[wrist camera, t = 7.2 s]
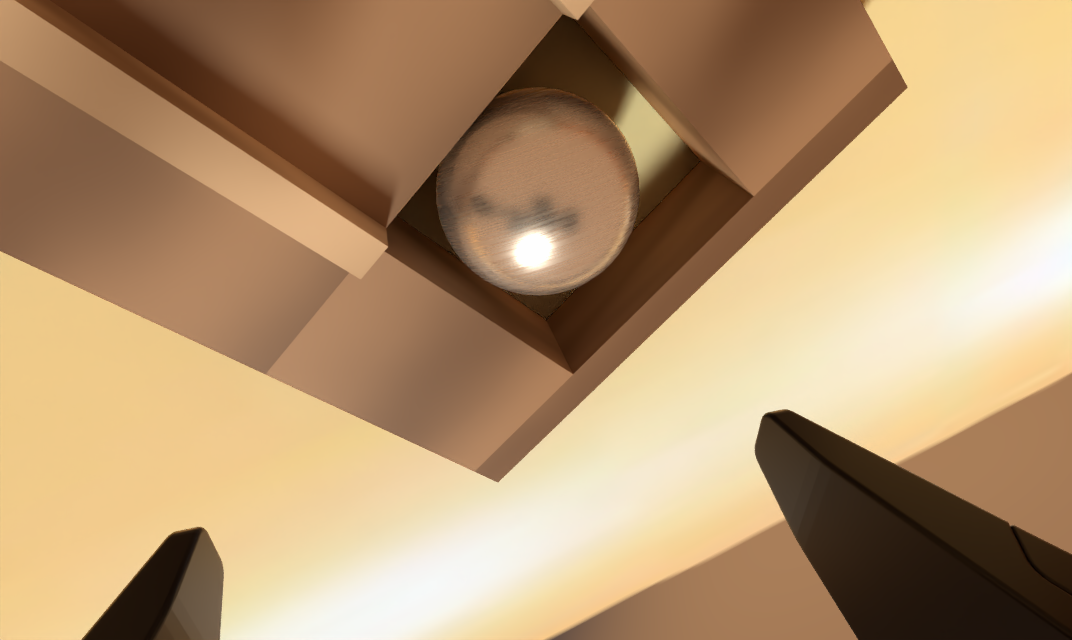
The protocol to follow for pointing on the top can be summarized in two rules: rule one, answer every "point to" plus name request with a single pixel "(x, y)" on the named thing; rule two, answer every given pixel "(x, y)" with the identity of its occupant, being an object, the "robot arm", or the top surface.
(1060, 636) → the robot arm
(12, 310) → the top surface
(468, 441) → the hole deck
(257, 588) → the top surface
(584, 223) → the steel ball
